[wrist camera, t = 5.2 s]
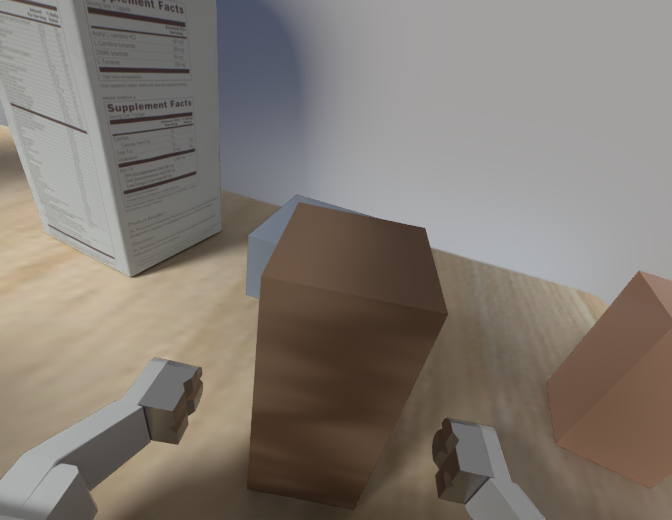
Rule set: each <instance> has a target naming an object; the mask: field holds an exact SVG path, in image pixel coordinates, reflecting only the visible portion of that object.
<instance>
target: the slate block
mask: <svg viewBox="0 0 672 520" xmlns="http://www.w3.org/2000/svg"><path fill="white" fill-rule="evenodd" d="M298 202H301V203H306V204H310V205H315V206H320V207H325V208H330V209H335V210H339V211H344V212H349V213H354V214H359V215H364V216H368V215H365V214H362V213H358V212H355V211H351V210H348V209H345V208H341V207H338V206H334V205H331V204H327V203H324V202H320V201H317V200H314V199H310V198H306V197H303V196H300V195H296V196H294V197H293V198H292V199H291V200H290V201H289V202H287V203H286V204H285V205H284V206H283V207H281V208H280V209H279V210H278V211H277V212H276V213H274V214H273V215H272V216H271V217H270V218H268V219H267V220H266V221H265V222H264V223H263V224H261V225H260V226H259V227H258V228H257V229H255V230H254V231H253V232H252V233H251V234H249V235H248V256H247V281H246V295H249V296H252V297H255V298H258V299H260V285H261V275H262V273H263V271H264V269H265V267H266V265H267V263H268V261H269V259H270V257H271V255H272V254H273V252H274V250H275V248H276V246H277V244H278V242H279V240H280V238H281V236H282V234H283V232H284V230H285V228H286V226H287V224H288V222H289V220H290V218H291V216H292V214H293V212H294V210H295V208H296V206H297V204H298ZM368 217H372V216H368ZM373 218H375V217H373Z"/></svg>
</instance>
